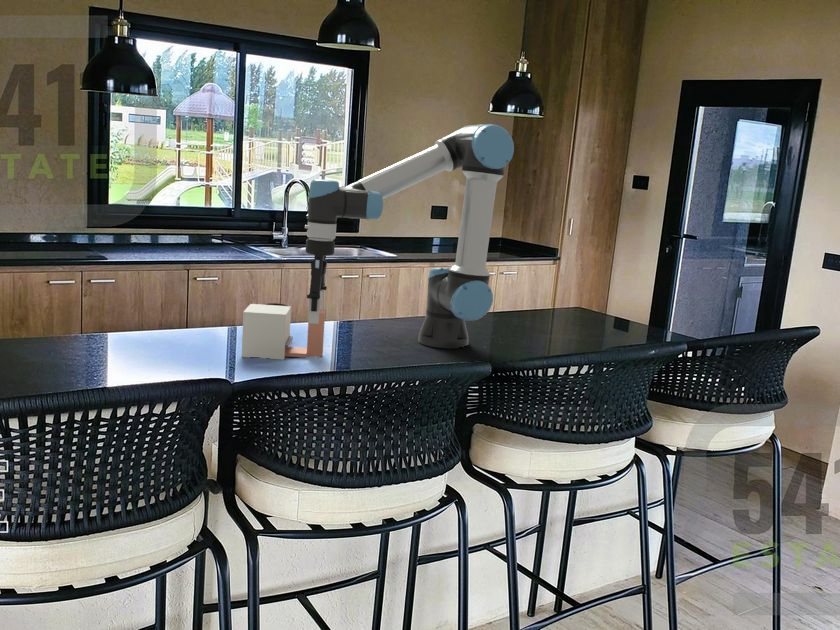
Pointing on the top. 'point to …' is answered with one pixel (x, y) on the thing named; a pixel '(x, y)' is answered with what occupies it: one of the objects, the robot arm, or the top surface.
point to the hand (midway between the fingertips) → (315, 318)
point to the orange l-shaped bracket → (311, 340)
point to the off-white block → (266, 331)
